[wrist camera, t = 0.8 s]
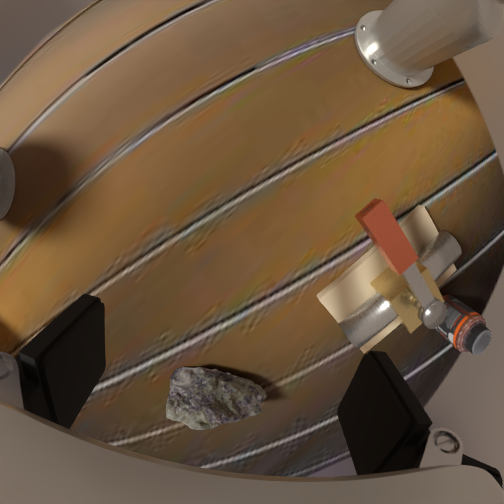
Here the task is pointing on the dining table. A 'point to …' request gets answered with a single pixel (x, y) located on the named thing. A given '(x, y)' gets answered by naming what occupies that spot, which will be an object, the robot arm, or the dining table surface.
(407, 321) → the valve body
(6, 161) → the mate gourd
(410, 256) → the lever
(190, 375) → the mineral rock
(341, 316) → the board
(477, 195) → the dining table surface
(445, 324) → the supplement bottle
